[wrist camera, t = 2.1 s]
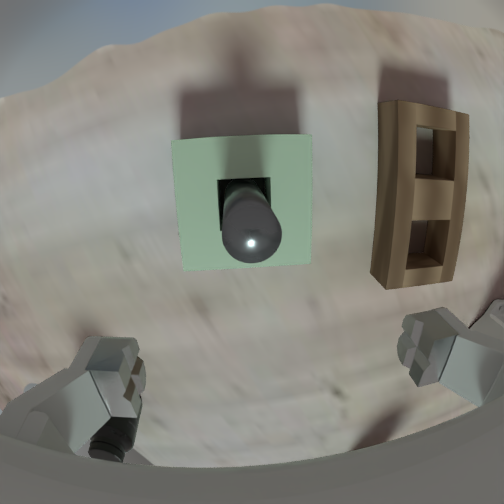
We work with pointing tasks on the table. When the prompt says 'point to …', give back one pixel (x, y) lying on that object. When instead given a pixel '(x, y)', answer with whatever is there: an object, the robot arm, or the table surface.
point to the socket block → (242, 166)
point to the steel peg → (249, 223)
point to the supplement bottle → (114, 438)
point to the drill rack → (419, 194)
